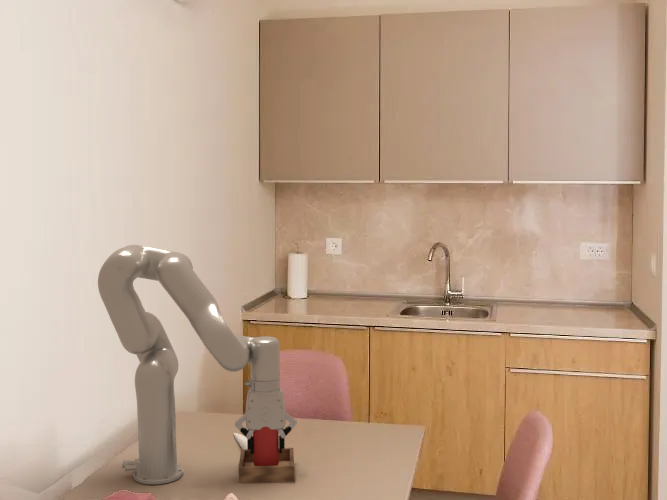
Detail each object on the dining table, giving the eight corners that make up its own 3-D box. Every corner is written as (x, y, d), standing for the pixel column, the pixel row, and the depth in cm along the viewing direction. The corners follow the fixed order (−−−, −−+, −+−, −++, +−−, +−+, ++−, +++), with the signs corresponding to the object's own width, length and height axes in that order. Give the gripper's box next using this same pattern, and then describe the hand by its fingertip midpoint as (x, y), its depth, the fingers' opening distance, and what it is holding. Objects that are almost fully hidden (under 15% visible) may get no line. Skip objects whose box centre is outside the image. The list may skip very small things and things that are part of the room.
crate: (238, 483, 199) (238, 468, 199) (241, 463, 213) (241, 449, 213) (294, 481, 200) (294, 466, 200) (293, 462, 214) (293, 447, 214)
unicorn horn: (246, 433, 239) (245, 418, 239) (265, 460, 217) (264, 443, 216) (230, 435, 238) (230, 419, 237) (248, 462, 215) (247, 445, 215)
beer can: (284, 463, 208) (283, 419, 207) (268, 471, 202) (267, 425, 201) (264, 459, 211) (263, 415, 210) (248, 467, 206) (247, 421, 205)
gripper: (230, 389, 200) (231, 458, 202) (299, 388, 202) (299, 456, 203) (232, 381, 208) (233, 448, 210) (298, 380, 209) (299, 446, 211)
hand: (266, 451), depth 206 cm, fingers open, 6 cm apart
